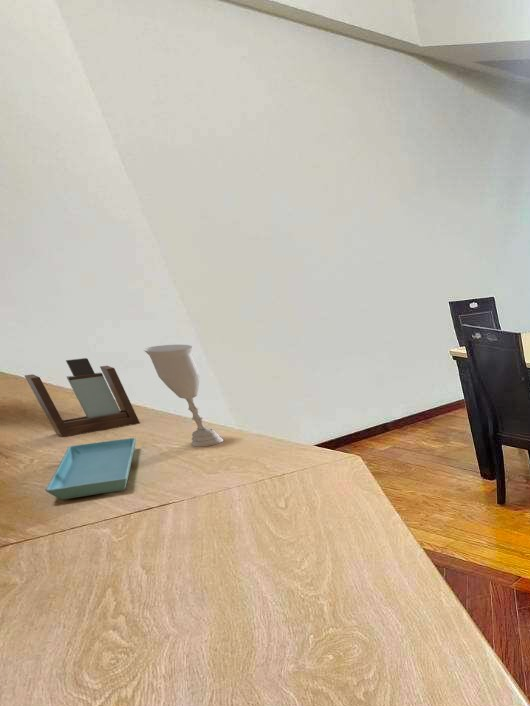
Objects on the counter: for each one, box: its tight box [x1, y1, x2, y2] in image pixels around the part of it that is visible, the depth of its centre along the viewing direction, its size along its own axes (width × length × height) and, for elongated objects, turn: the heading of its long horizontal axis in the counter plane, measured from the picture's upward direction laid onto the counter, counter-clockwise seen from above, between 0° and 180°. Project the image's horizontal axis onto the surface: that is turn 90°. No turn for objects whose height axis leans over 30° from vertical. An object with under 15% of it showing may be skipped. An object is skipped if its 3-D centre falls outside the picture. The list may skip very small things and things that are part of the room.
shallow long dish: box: [44, 437, 137, 500], centre depth 101 cm, size 26×9×2 cm, turn 39°
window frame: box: [24, 365, 141, 437], centre depth 119 cm, size 12×4×12 cm, turn 149°
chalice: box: [143, 344, 224, 447], centre depth 113 cm, size 7×7×18 cm
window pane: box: [65, 357, 121, 418], centre depth 119 cm, size 5×1×12 cm, turn 149°
